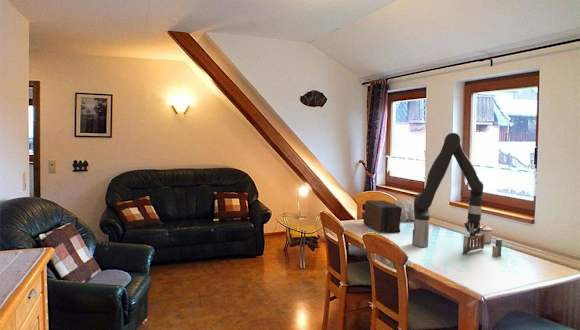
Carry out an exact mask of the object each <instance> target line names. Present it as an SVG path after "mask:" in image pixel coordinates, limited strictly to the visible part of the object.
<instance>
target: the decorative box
mask: <svg viewBox="0 0 580 330" xmlns="http://www.w3.org/2000/svg"><path fill="white" fill-rule="evenodd" d="M401 211H402V208H401V207H399V206H397V205H395V203H391V202H389V201H386V200H368V199H367V200H365V206H364V212H363V213H364V214H363V224H364V225H366V226H368V227H370V228H371V229H374V230H375V231H377V232H378V233H390V234H391V233H393V234H394V233H395V234H396V233H400V232H401V219H402V218H401Z"/></svg>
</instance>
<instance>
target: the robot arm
mask: <svg viewBox="0 0 580 330" xmlns="http://www.w3.org/2000/svg"><path fill="white" fill-rule="evenodd" d="M443 141H444V142H443V145H442V147H441V150H440V152H439V154H437V157H436V158H435V159H434V161H433V162H432V165H431V166H430V169H429V171H428V173H427V178H426V182H425V187H424V188H423V191H422V192H421V193H418V194H416V195H415V197H414V199H413V201H414V220H413V229H412V239H411V241H412V242H411V244H412V245H413V246H414V247H419V248H428V247H429V237H430V235H429V234H430V218H431V217H430V211H429V208H430V207H431V206H432V203H433V201H434V198H435V195H436V193H437V191H438V188H440V187H439V186H440V185H441V183H442V180H443V179H444V177H445V175H446V173H447V170H448V168H449V165H450V163H451V161H452V157H454V158H455V160H456V162H457V165H458V166H459V168H460V170H461V172H462V174H463V176H464V177H465V180H466V182H467V184H468V186H469V188H470V196H469V202H468V208H467V221H466V222H463V224H464V227H465V229H466V231H467V232H468V233H469V236H474V235H477V234H478V233H479V232H480V231H481V230H482V229H483V227H481V226H482V225H481V221H482V209H483V208H482V205H483V192H484V183H483V181H481V180H480V178H479V177H478V175H477V171H476V169H475V167H474V165H473V164H472V162H471V161H470V159H469V158H468V156H467V155H466V153H465V152H464V150H463V148H462V144H461V141H462V139H461V136H460V135H459V133H455V132H450V133H448V134H447V135H446V136H445V137H444V140H443ZM473 241H474V239H473Z"/></svg>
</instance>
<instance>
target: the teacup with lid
mask: <svg viewBox="0 0 580 330" xmlns="http://www.w3.org/2000/svg"><path fill="white" fill-rule="evenodd" d="M480 226H481V227H483V229H482V230H481V231H480V232H479V233H478V234H476V235H479V234H485V236H484V244H491V243H492V232H493V229H492V228H491V227H489V226H487V224H483V225H480ZM477 242H478V238H477Z"/></svg>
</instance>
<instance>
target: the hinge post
mask: <svg viewBox="0 0 580 330" xmlns="http://www.w3.org/2000/svg"><path fill="white" fill-rule="evenodd" d="M468 237H469V236H468V235H463V242H462V255H465V256H466V255H467V254H468V252H467V246H468Z"/></svg>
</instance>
